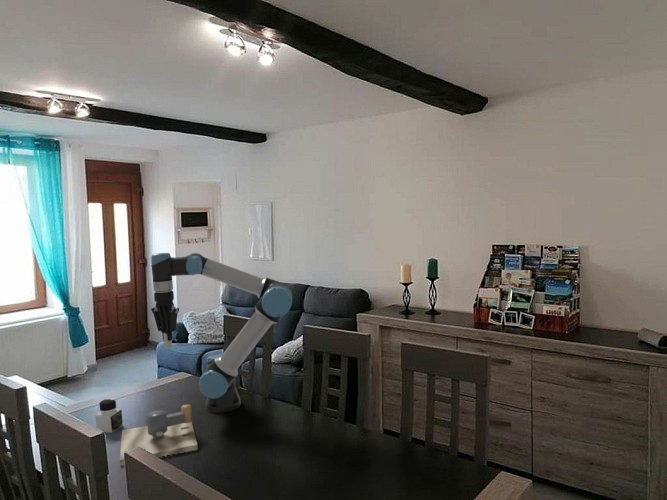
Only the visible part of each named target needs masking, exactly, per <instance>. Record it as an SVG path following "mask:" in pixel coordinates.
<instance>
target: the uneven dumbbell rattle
mask: <svg viewBox="0 0 667 500" xmlns="http://www.w3.org/2000/svg"><path fill="white" fill-rule="evenodd" d="M180 408H181V409H180V410H181V411H178V412H173V413H169V414H167V411H166V410H161V409H160V410H159V409H158V410H152V411H150V412H149V413H147V414H146V426H147V427H148V434H149V435H157V436H161V435H163V433H165V432H166V431H167V430H168V429H167V427H169V426H173V425H177V424H182V423H190V422H193V417H192V414H193V413H192V405H191V404H189V403H188V404H183V405H182V406H181V407H180Z"/></svg>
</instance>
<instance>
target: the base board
mask: <svg viewBox="0 0 667 500" xmlns="http://www.w3.org/2000/svg"><path fill="white" fill-rule="evenodd" d="M167 429H168V430H167V431H166V432H165V433H163V435H161V436H157V435H149V434H148V427H147V425H144V426H138V427H133V428H132V427H131V428H128V429H122V430H121V441H120V454H119V466H121V467H122V466H125V465H124V452H125V451H128V450H130V449H132V448H135V447H140V448H143V449H145V450H146V451H148V452H150V453H152V454H154V455H156V456H157V457H160V458H163V457H162V456H165V457H168V456H167V455H170V456H173V455H172V454H175V455H178V453H180V454H183V453H184V452H185V453H188V452H193V451H197V450H198V442H197V437H196V434H195V430H194V427H193V421H191V422H190V423H182V424H177V425H173V426H169V427H167Z"/></svg>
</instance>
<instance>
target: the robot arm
mask: <svg viewBox="0 0 667 500" xmlns="http://www.w3.org/2000/svg"><path fill="white" fill-rule="evenodd" d="M150 259H151V261H150V263H151V265H150V266H151V275H152V287H153V291H154V293H153V297H154V302H155V306H154V307H152V308H151V309H150V310H151V312H152V314H153V318H154V320H155V325H156V329H157V331H158V332H160V333H161V335H162V340H163V344H164V345H163V347H164V350H169V349H171V348H173V342H172V341H173V332H175V331H176V330H177V323H178V322H177V321H178V313H179V311H180V307H176V306H175V303H174V299H175V295H174V291H173V290H174V284H173V283H174V282H173V277H176V276H195V275H196V276H197V275H201V276H204V277H206V278H209V279H212V280H215V281H218V282H220V283H223V284H225V285H229V286H230V287H234V288H236V289H239V290H242V291H244V292H248V293H250V294H253V295H255V296H257V298H258V299H259V300H258V301H257V302H256V304H255V305H254V309H255V311H254V312H253V314H252V315H251V317H250V318H248V320H247V321H246V323H245V324H244V326H243V327H242V328H241V330H240V331H239V332H238V333H237V334H236V336H235V337H234V339H233V340H232V341H231V342H230V344H229V345H228V346H227V348H226V349H225V351H224V352H223V353H221V354H220V353H219V354H212V355H209V356H207V358H206V368H205V370H204V372H203V373H202V374H201V375H200V377H199V381H198V388H199V391H200V392H201V394H202V395H203V396H205V397H206V400H205V410H206V411H208V412H209V413H214V414H220V413H221V414H222V413H228V412H232V411H235V410H237V409H238V408H240V407H241V404H242V402H241V397H240V394H239V392H238V390H237V388H236V377H238V375H239V372H238V369H239V368H240V366H241V365H242V364H243V362H244V361H245V360H246V359H247V357H248V356H249V355H250V353H251V352H252V350H253V349H254V348H255V347H256V345H257V344H258V343H259V342H260V340H261V339H262V337H264V335H265V334H266V332H267V331H268V330H269V328H270V327H272V325H274V324H278V323H279V322H280V321H281V320H282V318H283V317H284V316H285V315H286V314H287V313H288V312H289V310H290V309H291V307H292V304H293V298H294V297H293V296H294V295H293V290H292V289H291V287H290V286H289V285H288V284H286V283H284V282H281V281H278V280H274V279H271V278H270V277H263V278H262V277H259V276H257V275H254V274H251V273H248V272H245V271H242V270H241V269H238V268H235V267H232V266H229V265H226V264H224V263H221V262H219V261H215V260H213V259H210V258H208V257H204V256H203V255H202V254H201V253H197V252H194V253H193V252H192V253H190V254H188V255H185V256H177V257H176V256H175V257H174V256H171V253H170V252H158V253H153V254H151V257H150Z"/></svg>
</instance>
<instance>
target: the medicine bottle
mask: <svg viewBox="0 0 667 500" xmlns="http://www.w3.org/2000/svg"><path fill="white" fill-rule="evenodd" d="M122 412H123V411H122V409H121V408H117V401H116V399H115V398H105V399H103V400H101V401H100V402H99V412H98V413H97V414H95V425H96V427H95V428H96V429H97V428H98V429H100V430H102V431H104V432H103V433H108V434H109V433H110V434H112V433H114V432H116V431H117V430H118V429H119V428H121V427H122V426H123V425H124V423H123V413H122Z"/></svg>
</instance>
